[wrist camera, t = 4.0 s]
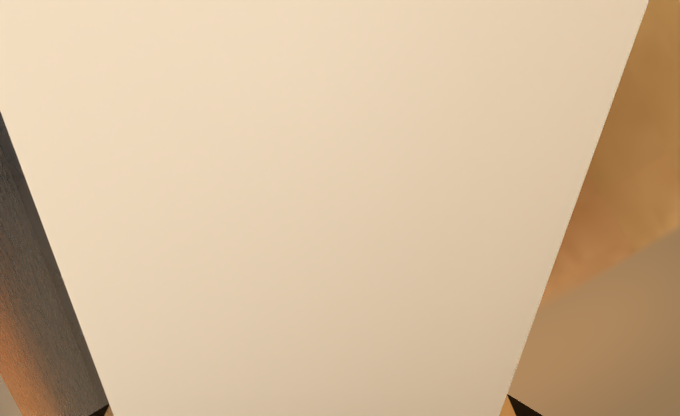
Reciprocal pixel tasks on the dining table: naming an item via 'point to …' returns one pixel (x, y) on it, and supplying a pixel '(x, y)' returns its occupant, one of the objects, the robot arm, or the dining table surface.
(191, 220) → the door panel
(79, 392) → the door track
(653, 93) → the dining table surface
